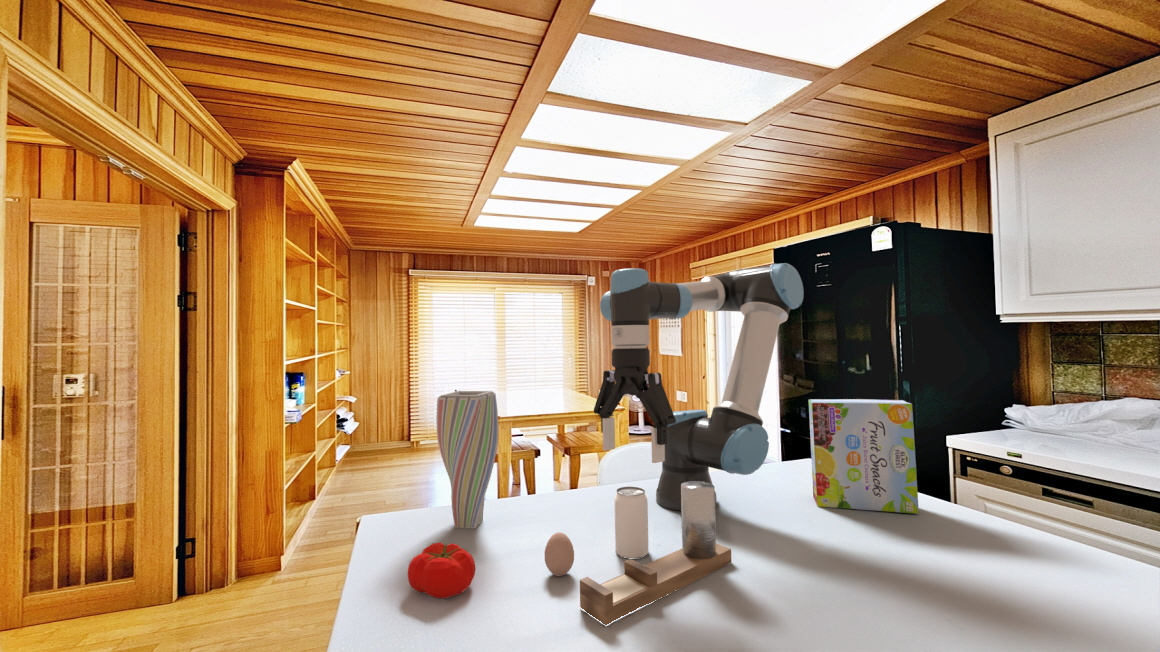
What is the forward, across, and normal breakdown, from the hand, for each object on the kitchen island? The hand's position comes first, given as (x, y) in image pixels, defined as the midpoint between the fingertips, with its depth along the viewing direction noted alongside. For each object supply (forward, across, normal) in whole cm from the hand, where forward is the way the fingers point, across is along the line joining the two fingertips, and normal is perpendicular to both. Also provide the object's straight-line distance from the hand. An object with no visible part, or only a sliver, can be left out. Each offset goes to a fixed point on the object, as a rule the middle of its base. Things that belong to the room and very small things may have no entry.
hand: (632, 455), depth 94 cm
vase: (+19, -36, -18) cm, 44 cm away
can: (+19, 0, 0) cm, 19 cm away
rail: (+19, +12, -5) cm, 23 cm away
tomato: (+19, -12, -34) cm, 41 cm away
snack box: (+19, +18, +61) cm, 66 cm away
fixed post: (+16, +12, +5) cm, 21 cm away
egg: (+19, -3, -16) cm, 25 cm away
